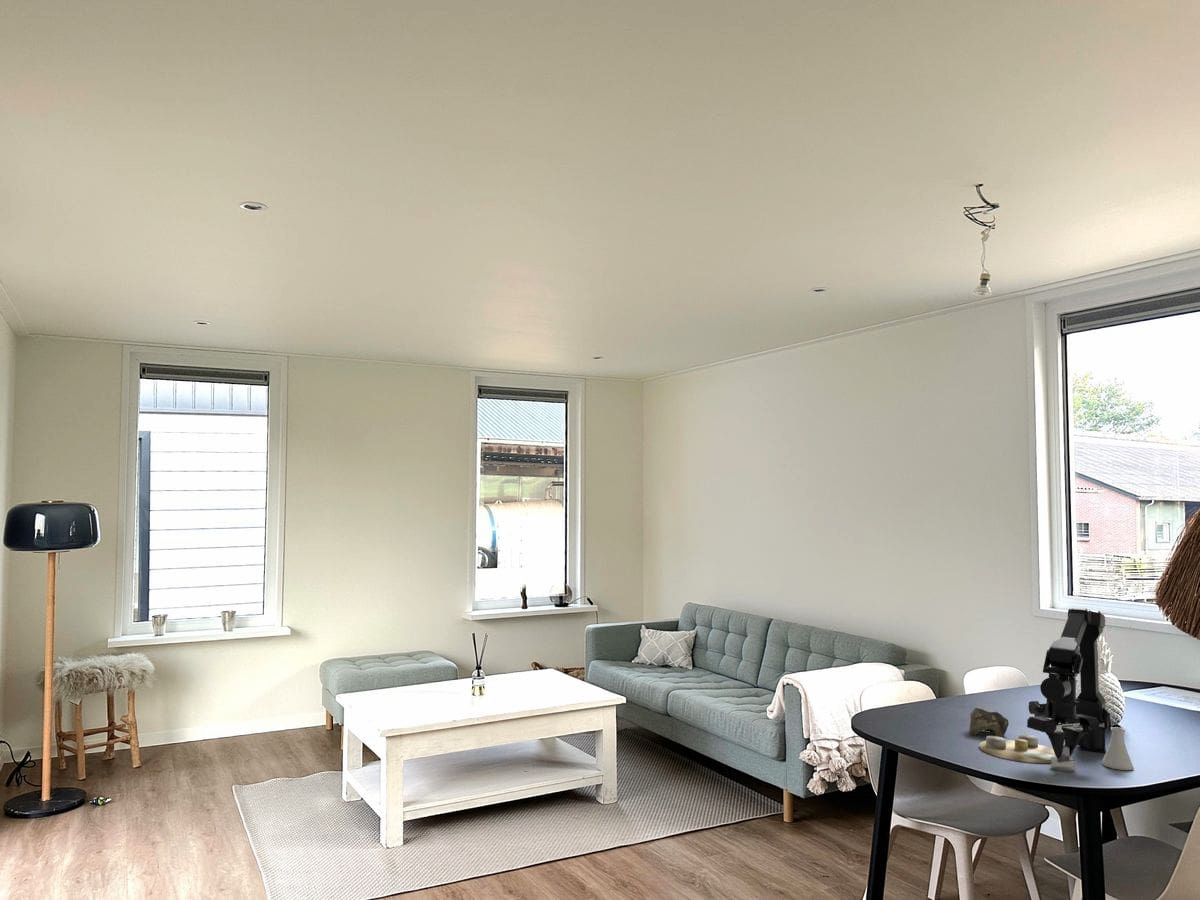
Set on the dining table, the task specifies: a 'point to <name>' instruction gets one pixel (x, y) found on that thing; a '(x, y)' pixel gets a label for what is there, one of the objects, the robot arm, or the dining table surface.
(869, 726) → the dining table surface
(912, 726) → the dining table surface
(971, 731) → the fossil
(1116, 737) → the flask
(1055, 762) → the silver metal knob
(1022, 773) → the dining table surface
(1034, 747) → the carrier plate
